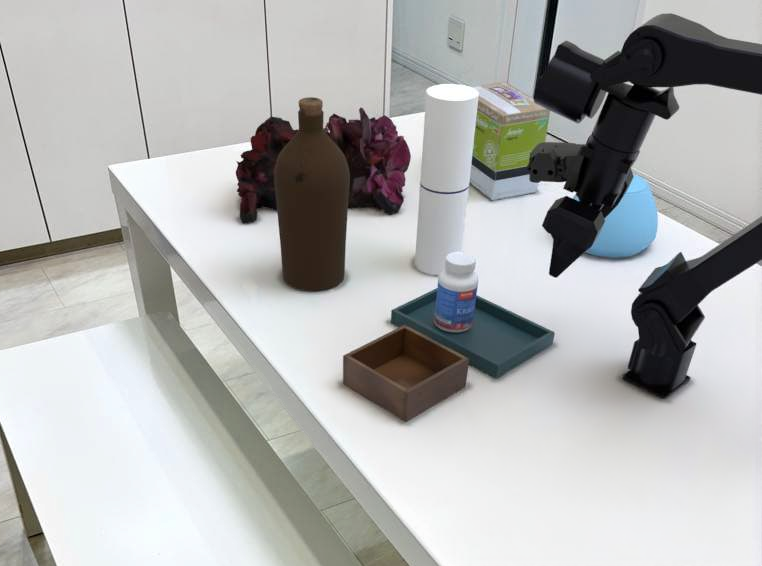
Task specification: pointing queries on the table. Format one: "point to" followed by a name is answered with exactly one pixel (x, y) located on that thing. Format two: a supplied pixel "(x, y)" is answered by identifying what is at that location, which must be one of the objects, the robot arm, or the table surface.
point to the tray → (480, 333)
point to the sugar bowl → (628, 223)
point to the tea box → (505, 140)
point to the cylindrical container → (444, 173)
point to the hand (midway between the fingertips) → (563, 260)
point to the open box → (405, 372)
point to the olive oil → (312, 204)
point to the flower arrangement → (360, 147)
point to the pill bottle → (456, 293)
